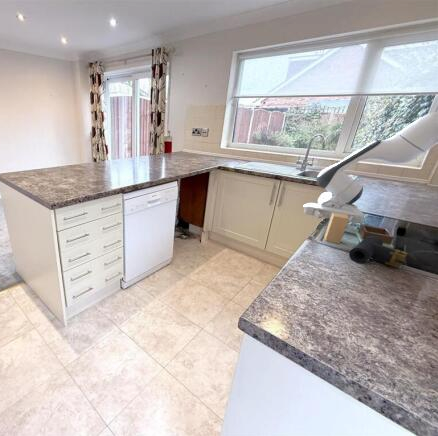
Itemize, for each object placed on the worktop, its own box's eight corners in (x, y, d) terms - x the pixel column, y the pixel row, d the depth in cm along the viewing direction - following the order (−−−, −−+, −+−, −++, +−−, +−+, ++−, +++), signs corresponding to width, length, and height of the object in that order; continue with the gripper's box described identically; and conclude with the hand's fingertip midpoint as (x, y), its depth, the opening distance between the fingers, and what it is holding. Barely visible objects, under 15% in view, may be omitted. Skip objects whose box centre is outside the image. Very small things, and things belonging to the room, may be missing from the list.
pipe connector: (412, 246, 78) (400, 260, 69) (405, 260, 80) (393, 276, 71) (366, 233, 86) (351, 244, 78) (361, 246, 88) (346, 259, 80)
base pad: (354, 231, 100) (358, 222, 98) (383, 236, 96) (387, 227, 94) (360, 243, 90) (364, 233, 89) (392, 249, 86) (397, 239, 85)
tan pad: (324, 236, 95) (332, 212, 91) (338, 239, 93) (347, 214, 89) (325, 240, 91) (333, 216, 88) (339, 243, 89) (349, 218, 85)
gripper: (305, 197, 112) (305, 206, 101) (361, 206, 103) (369, 216, 92) (301, 210, 114) (301, 220, 103) (356, 219, 105) (363, 231, 94)
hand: (334, 218), depth 97 cm, fingers open, 8 cm apart
